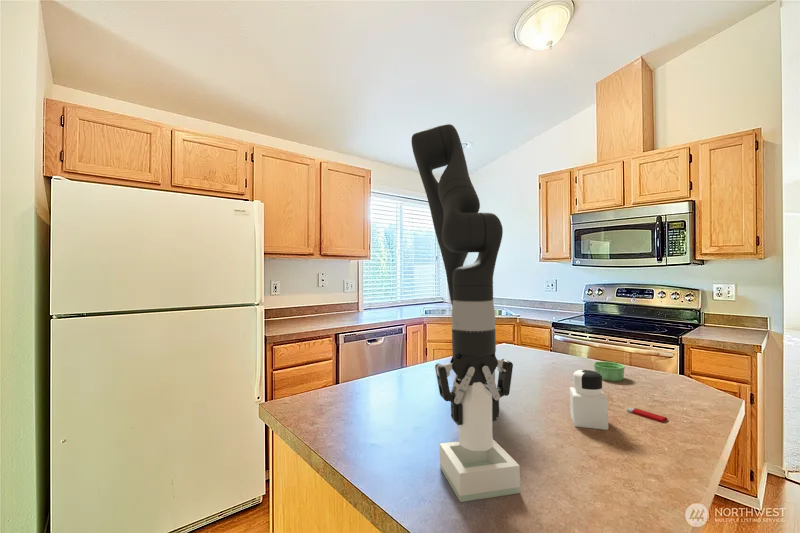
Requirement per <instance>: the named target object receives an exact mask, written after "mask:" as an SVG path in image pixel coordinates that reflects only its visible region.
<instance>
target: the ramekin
mask: <svg viewBox="0 0 800 533" xmlns="http://www.w3.org/2000/svg"><path fill="white" fill-rule="evenodd" d="M593 367H594V371H595V372H597V373H599V374H600V375H601V376H602V381H609V382H620V381H623V380H624V375H625V365H624V364H622V363H618V362H614V361H603V360H602V361H595V362H593Z"/></svg>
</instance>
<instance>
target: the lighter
mask: <svg viewBox="0 0 800 533" xmlns="http://www.w3.org/2000/svg"><path fill="white" fill-rule="evenodd" d="M626 412H627V413H630V414H631V415H636V416H639V417H642V418H645V419H648V420H652V421H656V422H657V423H664V422H666V421H668V417H666V416H663V415H659V414H656V413H654V412H649V411H648V410H647V411H646V410H643V409H640V408H636V407H628V408H627V409H626Z"/></svg>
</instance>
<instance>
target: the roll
mask: <svg viewBox="0 0 800 533" xmlns="http://www.w3.org/2000/svg"><path fill="white" fill-rule="evenodd" d="M460 403H461V404H462V425H457V426H458V441H459V444H460V445H461V446H462V447H464V448H466V449H468V450H471V451H486V450H489V449H491V448H492V447H493V439H494V438H493V421H492V394H491V393H490V391H489V390H488V389H487V388H486V387H485V386H484V385H483V383H481V382H478V383H473V385H468V388H467V390H466V392H464V394H463V397H462V399H461V402H460Z"/></svg>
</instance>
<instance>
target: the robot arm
mask: <svg viewBox="0 0 800 533" xmlns="http://www.w3.org/2000/svg"><path fill="white" fill-rule="evenodd" d="M461 141H462V140H461V138H460V135H459V133H458V131H457V129H456V127H455V126H454V125H453V124H450V123H445V124H444V123H443V124H439V125H438V126H437V125H436V126H433V127H431V128H427V129H423V130H420V131H417V132H415V133H413V134H412V136H411V147H412V152H413V156H414V160H415V163H416V167H417V169H418V173H419V175H420V179H421V182H422V185H423V188H424V192H425V194H426V198H427V202H428V206H429V209H430V215H431V219H432V223H433V228H434V232H435V235H436V239H437V243H438V246H439V250H440V253H441V257H442V260H443V265H444V269H445V270H444V271H445V274H446V281H447V287H448V288H447V289H448V292H449V293H448V294H449V298H450V303H451V306H452V309H451V343H452V344H451V346H452V347H451V349H452V357H451V359H450V360H449V361H450V362H447V363H436V364H435V366H434V368H435V374H436V381H437V385H438V391H439V396H440V397H441V398H442V399H443V400H444V401H445V402H449V403H450V417H451V419H452V420H453V422H455V424H456V425H457V426H458V425H462V404H461V403H460V402H461V399H462V397H463V394H464V392H466V390H467V388H468V385H473V383H478V382H481V383H483V385H484V386H485V387H486V388H487V389H488V390H489V391H490V393H491V394H492V422H496V421H497V419H498V418H499V417H500V399H501V398H502V397H504V396H509V395H510V390H511V384H512V377H513V376H512V375H513V368H514V364H513V362H511V361H510V360H508V359H506V358H502V359H498V358H497V357H496V356H497V355H496V350H497V345H496V344H497V343H496V342H497V340H496V339H497V338H496V323H497V322H496V321H497V319H496V311H495V305H494V273H495V268H496V263H497V259H498V254H499V251H500V247H501V244H502V241H503V240H502V239H503V232H504V231H503V225H502V222H501V220H500V218H499V217H498V216H497V215H496V214H495V213H493V212H479V211H480V208H481V203H480V199H479V197H478V194H477V191H476V189H475V187H474V185H473V183H472V181H471V178H470V175H469V170H468V166H467V161H466V156H465V153H464V148H463V145H462V142H461ZM443 167H445V169H444V170H443V172H442V174H441V176H440V178H439V181H438V180H437V178H436V177H435V175H434V174H433V171H434V170H435V169H441V168H443ZM469 253H478V254H477V258H476V260H475V261H474V262H473V263H472V264H471V263H470V264H468V265H467V264H466V265H464V264H465V262H466V259H467V257H468V255H469ZM496 369H497V371H498V375H497V376H498V377H497V378H498V379H497V383H496ZM451 371H453V372H454V373H455V378H454V379H453V383H452V384H453V385H452V388H451V389H450V386H449V385H450V384H449V380H448V378H449V377H450V376H451ZM450 390H451V391H450Z"/></svg>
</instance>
